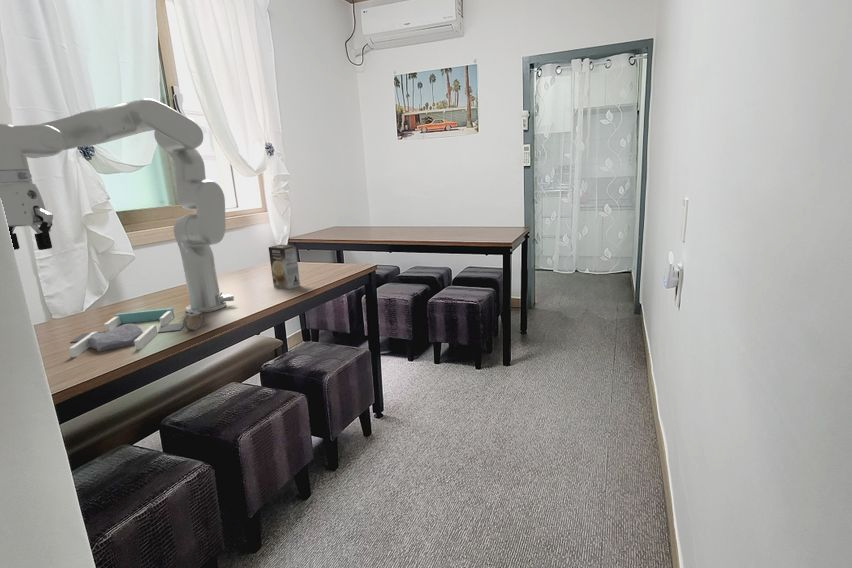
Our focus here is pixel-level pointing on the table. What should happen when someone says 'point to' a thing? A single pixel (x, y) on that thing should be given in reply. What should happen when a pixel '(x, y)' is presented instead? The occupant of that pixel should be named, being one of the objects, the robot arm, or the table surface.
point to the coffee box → (284, 266)
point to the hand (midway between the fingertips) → (28, 249)
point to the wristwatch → (191, 316)
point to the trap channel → (145, 337)
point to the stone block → (115, 337)
